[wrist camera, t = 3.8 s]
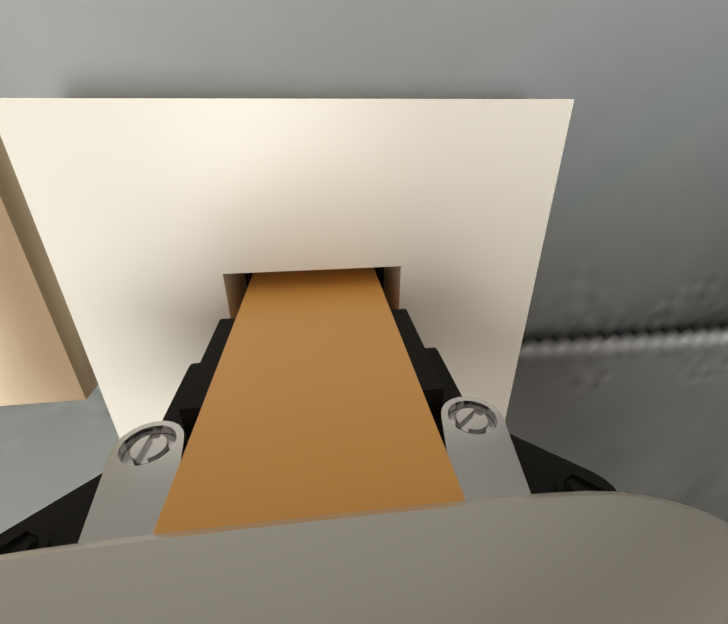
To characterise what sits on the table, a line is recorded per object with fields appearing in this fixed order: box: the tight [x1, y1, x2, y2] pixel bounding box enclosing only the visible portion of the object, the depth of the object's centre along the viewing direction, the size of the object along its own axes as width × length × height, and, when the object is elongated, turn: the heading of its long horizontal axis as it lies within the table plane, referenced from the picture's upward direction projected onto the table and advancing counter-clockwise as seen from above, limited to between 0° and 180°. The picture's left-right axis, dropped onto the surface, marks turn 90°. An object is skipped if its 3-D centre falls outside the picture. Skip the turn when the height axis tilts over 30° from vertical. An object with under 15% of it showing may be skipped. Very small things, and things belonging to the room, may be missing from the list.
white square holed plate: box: [0, 98, 574, 438], centre depth 14 cm, size 14×14×3 cm
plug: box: [153, 267, 465, 534], centre depth 10 cm, size 4×4×11 cm
